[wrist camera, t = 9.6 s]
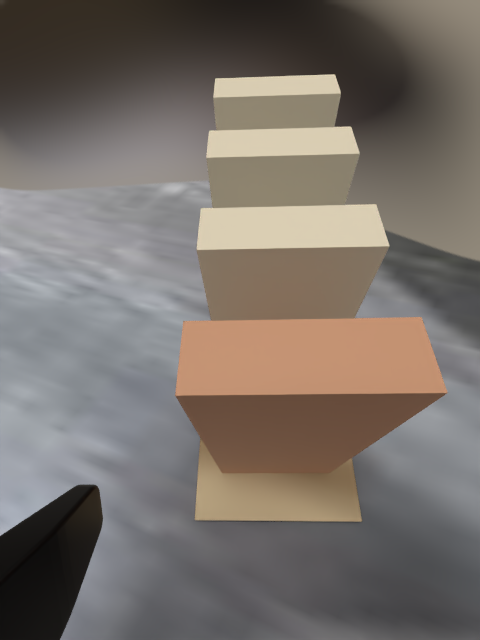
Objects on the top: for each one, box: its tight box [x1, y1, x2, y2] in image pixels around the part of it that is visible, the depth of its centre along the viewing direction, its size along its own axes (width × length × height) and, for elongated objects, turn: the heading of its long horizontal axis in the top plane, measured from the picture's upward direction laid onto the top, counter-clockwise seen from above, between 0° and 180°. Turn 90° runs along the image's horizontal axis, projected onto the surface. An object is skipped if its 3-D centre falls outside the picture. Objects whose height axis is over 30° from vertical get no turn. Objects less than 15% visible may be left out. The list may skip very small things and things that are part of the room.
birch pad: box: [195, 437, 362, 522], centre depth 17 cm, size 6×8×1 cm
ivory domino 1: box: [213, 75, 341, 131], centre depth 20 cm, size 2×6×12 cm, turn 90°
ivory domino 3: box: [197, 204, 389, 321], centre depth 15 cm, size 2×6×12 cm, turn 90°
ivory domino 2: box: [206, 127, 359, 208], centre depth 17 cm, size 2×6×12 cm, turn 90°
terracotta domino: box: [175, 317, 447, 473], centre depth 12 cm, size 2×6×12 cm, turn 90°
